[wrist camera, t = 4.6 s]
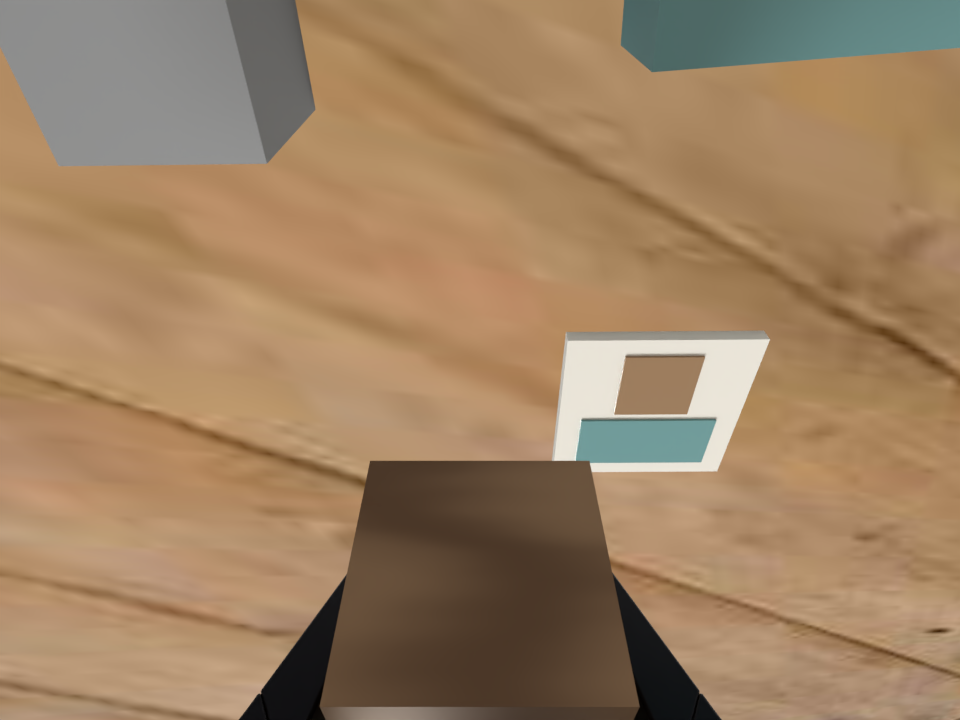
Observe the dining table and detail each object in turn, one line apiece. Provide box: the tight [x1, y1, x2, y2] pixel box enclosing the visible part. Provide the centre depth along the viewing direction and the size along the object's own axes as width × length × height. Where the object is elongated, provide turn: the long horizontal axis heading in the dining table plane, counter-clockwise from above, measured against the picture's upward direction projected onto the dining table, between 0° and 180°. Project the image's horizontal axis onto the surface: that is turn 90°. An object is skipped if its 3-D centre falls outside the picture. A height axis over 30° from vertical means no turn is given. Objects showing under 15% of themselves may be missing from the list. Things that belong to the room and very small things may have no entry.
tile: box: [552, 331, 770, 472], centre depth 24 cm, size 8×8×1 cm
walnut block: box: [320, 461, 640, 720], centre depth 12 cm, size 5×5×5 cm
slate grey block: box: [0, 0, 316, 166], centre depth 13 cm, size 5×5×5 cm
